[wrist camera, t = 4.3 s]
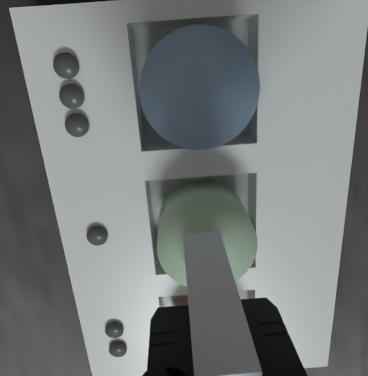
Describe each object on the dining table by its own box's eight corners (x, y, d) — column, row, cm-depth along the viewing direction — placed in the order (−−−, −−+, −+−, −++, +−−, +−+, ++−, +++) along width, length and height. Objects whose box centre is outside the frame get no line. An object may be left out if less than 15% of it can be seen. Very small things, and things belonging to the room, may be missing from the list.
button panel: (38, 17, 16) (6, 7, 13) (336, -4, 16) (375, -19, 13) (103, 344, 23) (93, 387, 20) (308, 328, 23) (328, 369, 20)
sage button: (155, 182, 16) (151, 205, 14) (244, 175, 16) (258, 197, 14) (163, 259, 18) (161, 293, 15) (244, 253, 18) (257, 286, 15)
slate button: (139, 34, 14) (132, 29, 11) (244, 27, 14) (260, 19, 11) (150, 138, 16) (146, 153, 13) (244, 131, 16) (259, 145, 13)
